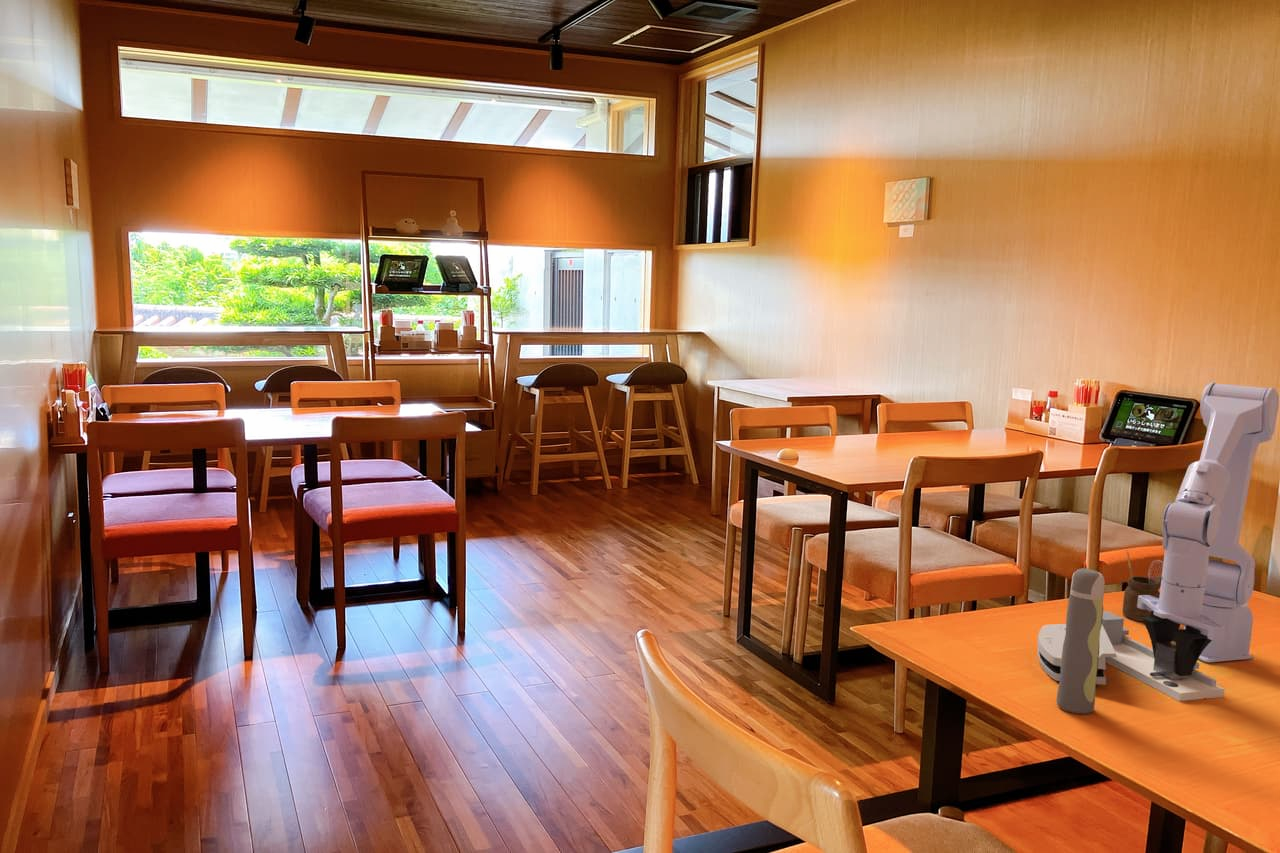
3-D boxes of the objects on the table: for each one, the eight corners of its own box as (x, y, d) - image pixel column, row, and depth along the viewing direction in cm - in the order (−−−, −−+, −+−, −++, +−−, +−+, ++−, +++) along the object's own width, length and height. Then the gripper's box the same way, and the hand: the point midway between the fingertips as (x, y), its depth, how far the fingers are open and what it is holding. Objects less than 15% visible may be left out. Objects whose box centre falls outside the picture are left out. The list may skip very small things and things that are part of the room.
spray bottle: (1100, 710, 138) (1115, 572, 135) (1082, 718, 135) (1098, 578, 132) (1066, 698, 142) (1081, 563, 139) (1049, 706, 139) (1063, 569, 136)
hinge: (1116, 654, 144) (1042, 653, 147) (1117, 685, 144) (1044, 683, 147) (1098, 616, 160) (1032, 615, 162) (1099, 644, 160) (1033, 643, 163)
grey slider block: (1142, 671, 149) (1146, 638, 148) (1182, 667, 151) (1186, 634, 150) (1160, 680, 146) (1164, 646, 145) (1201, 677, 148) (1205, 643, 147)
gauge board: (1074, 645, 163) (1077, 613, 162) (1114, 642, 165) (1118, 610, 165) (1179, 701, 142) (1183, 664, 142) (1223, 696, 144) (1228, 660, 144)
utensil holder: (1160, 625, 175) (1168, 559, 173) (1121, 619, 177) (1128, 554, 175) (1156, 615, 180) (1163, 551, 179) (1118, 609, 183) (1125, 546, 181)
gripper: (1125, 569, 152) (1115, 653, 154) (1200, 599, 138) (1189, 690, 140) (1162, 567, 154) (1152, 650, 156) (1241, 596, 140) (1229, 687, 142)
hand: (1172, 669), depth 148 cm, fingers closed on grey slider block, 4 cm apart
